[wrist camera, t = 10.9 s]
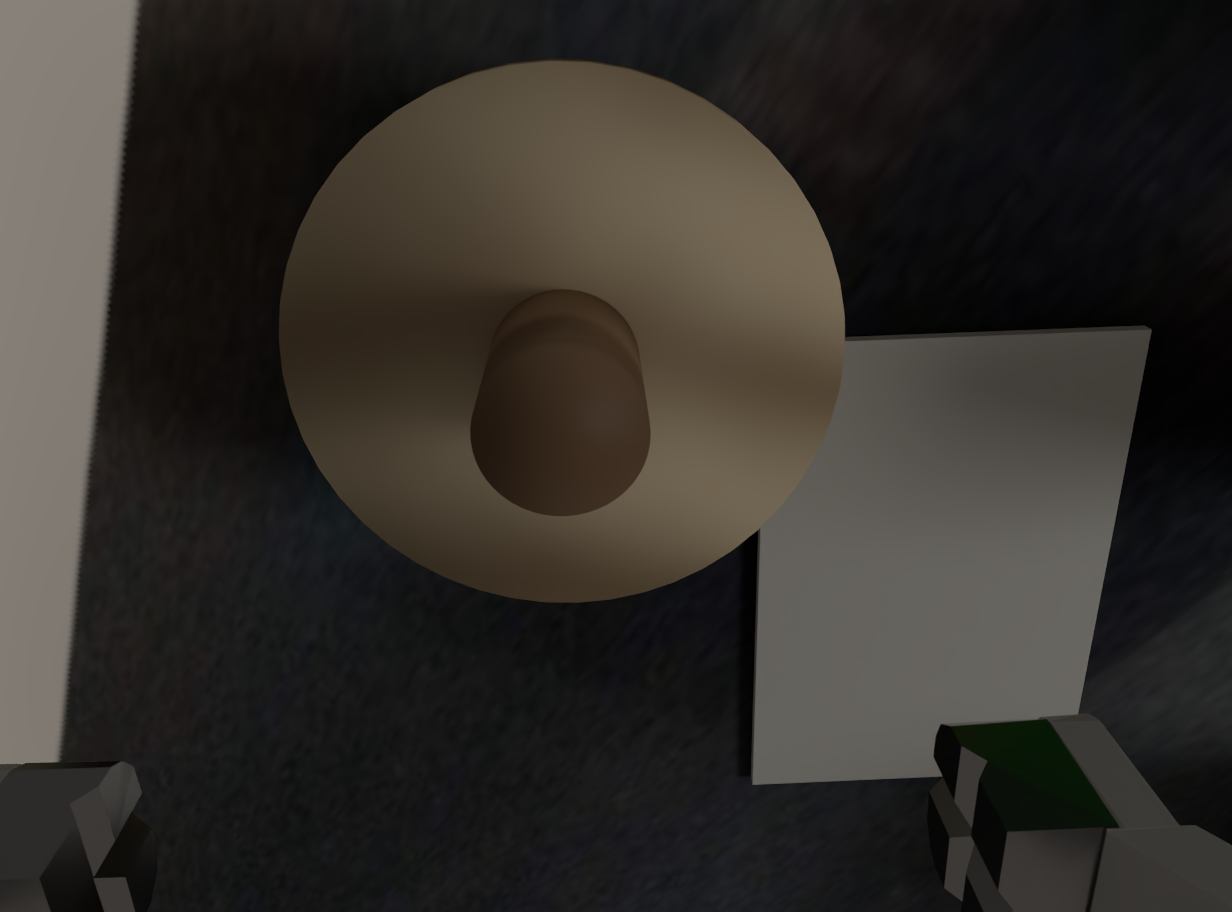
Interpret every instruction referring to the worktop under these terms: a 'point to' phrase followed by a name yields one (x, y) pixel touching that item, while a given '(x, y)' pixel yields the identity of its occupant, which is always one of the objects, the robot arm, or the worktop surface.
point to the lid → (562, 331)
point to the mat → (941, 547)
